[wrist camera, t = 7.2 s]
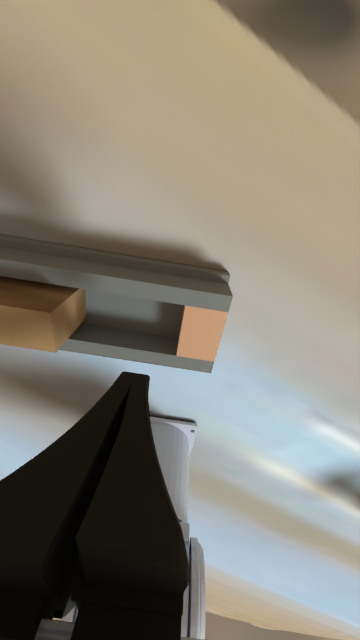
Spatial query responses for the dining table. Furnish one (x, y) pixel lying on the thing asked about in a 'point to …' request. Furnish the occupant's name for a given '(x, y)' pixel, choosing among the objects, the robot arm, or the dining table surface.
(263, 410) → the dining table surface
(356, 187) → the dining table surface
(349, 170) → the dining table surface
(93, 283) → the rail
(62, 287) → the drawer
